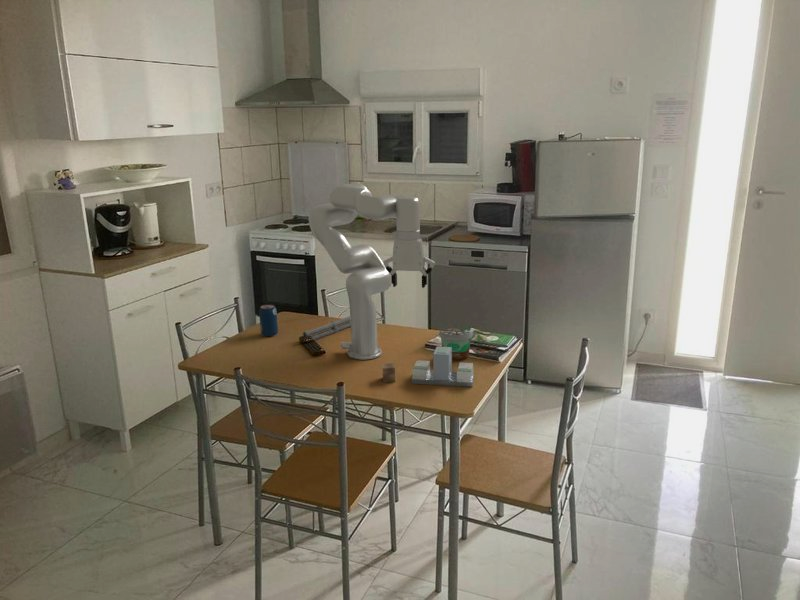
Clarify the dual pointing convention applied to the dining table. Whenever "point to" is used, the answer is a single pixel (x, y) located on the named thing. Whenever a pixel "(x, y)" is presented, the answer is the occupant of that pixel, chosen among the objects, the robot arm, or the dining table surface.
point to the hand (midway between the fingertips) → (409, 286)
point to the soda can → (268, 320)
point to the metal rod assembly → (331, 325)
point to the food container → (457, 343)
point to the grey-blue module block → (442, 363)
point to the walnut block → (388, 372)
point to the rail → (458, 378)
